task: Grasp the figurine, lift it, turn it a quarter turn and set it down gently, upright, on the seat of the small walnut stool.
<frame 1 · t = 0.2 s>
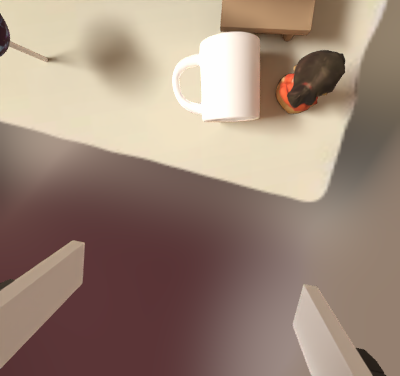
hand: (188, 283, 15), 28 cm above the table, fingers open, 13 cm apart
mug: (216, 89, 39), on the table
stool: (263, 3, 36), on the table
figurine: (292, 95, 38), on the table
lollipop: (46, 60, 40), on the table
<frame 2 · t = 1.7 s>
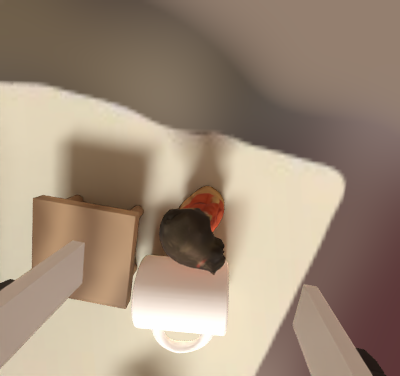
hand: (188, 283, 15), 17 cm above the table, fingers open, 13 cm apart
mug: (187, 287, 34), on the table
stool: (105, 234, 33), on the table
figurine: (202, 206, 31), on the table
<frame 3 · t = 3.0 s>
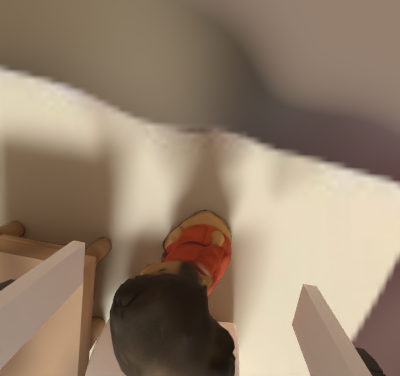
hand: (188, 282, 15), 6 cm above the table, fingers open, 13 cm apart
mug: (177, 352, 24), on the table
stool: (58, 277, 23), on the table
figurine: (198, 239, 21), on the table
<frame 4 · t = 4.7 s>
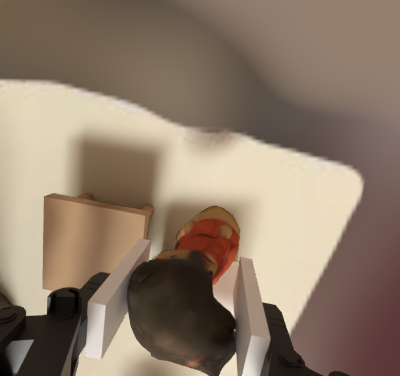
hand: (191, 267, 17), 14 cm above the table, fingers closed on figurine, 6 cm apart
mug: (197, 287, 33), on the table
stool: (115, 233, 33), on the table
figurine: (209, 233, 22), point 8 cm above the table, touching gripper
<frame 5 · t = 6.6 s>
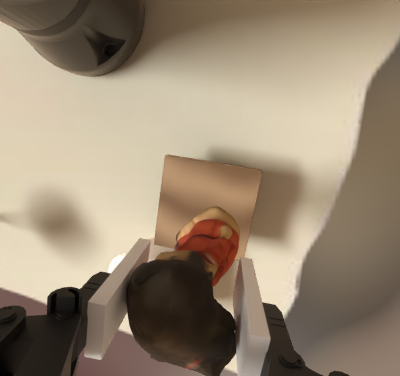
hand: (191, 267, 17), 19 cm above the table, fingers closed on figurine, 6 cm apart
mug: (159, 264, 38), on the table
stool: (208, 197, 35), on the table
figurine: (209, 233, 22), point 13 cm above the table, touching gripper
when the fingers open (12 cm above the table, at t = 8.5 s): figurine stays where it is, resting on stool.
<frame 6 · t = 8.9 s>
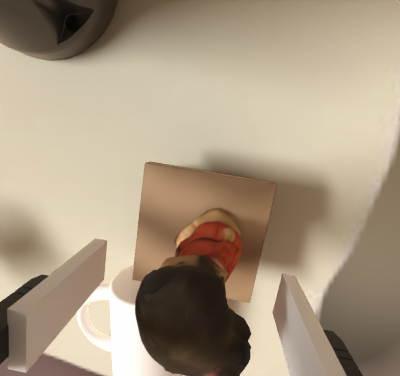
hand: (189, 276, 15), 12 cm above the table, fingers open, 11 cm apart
mug: (144, 296, 31), on the table
stool: (204, 214, 28), on the table
figurine: (208, 236, 22), point 6 cm above the table, touching stool
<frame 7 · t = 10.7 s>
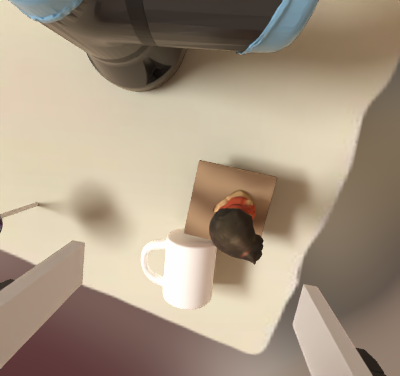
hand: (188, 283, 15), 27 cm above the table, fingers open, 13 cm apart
mug: (181, 253, 44), on the table
stool: (227, 197, 42), on the table
figurine: (234, 207, 36), point 6 cm above the table, touching stool
lollipop: (36, 204, 45), on the table
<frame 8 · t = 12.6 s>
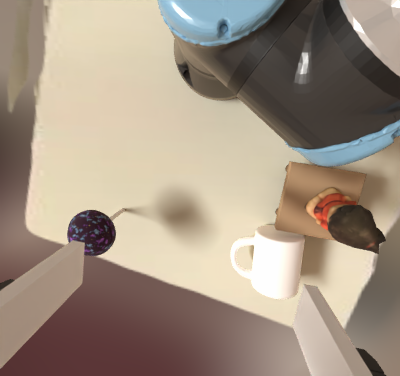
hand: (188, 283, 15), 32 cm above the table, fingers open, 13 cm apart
mug: (261, 248, 48), on the table
stool: (306, 194, 45), on the table
figurine: (324, 203, 39), point 6 cm above the table, touching stool
lollipop: (123, 209, 48), on the table
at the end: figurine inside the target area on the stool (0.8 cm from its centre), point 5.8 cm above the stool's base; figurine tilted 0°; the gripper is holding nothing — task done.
